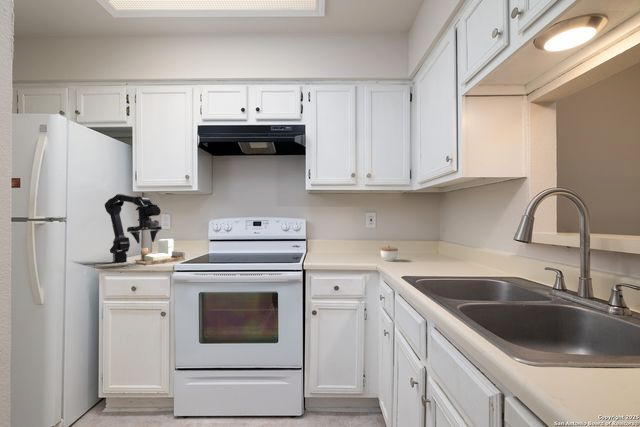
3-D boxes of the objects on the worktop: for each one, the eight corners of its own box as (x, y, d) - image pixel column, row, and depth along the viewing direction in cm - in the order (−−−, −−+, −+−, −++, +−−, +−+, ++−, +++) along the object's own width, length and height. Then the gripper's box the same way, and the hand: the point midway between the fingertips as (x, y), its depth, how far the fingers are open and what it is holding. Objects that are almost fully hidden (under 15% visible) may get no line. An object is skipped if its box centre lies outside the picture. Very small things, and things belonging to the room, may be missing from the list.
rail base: (146, 265, 180) (146, 256, 180) (135, 263, 188) (135, 255, 188) (184, 260, 199) (184, 252, 200) (173, 258, 208) (173, 251, 208)
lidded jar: (400, 261, 188) (400, 246, 189) (384, 262, 186) (384, 246, 186) (393, 259, 199) (393, 244, 199) (377, 259, 197) (377, 245, 197)
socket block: (153, 262, 185) (153, 256, 185) (144, 260, 191) (144, 255, 191) (170, 259, 193) (170, 254, 193) (162, 258, 200) (162, 253, 200)
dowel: (143, 260, 197) (143, 248, 197) (140, 260, 200) (140, 248, 200) (149, 260, 201) (149, 248, 201) (146, 259, 203) (146, 247, 203)
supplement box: (168, 258, 210) (168, 239, 210) (157, 258, 210) (157, 239, 210) (173, 256, 217) (173, 238, 217) (163, 256, 217) (163, 239, 217)
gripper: (137, 216, 174) (139, 243, 174) (166, 215, 191) (168, 240, 191) (125, 217, 179) (127, 244, 179) (154, 217, 196) (156, 241, 195)
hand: (146, 242), depth 186 cm, fingers open, 9 cm apart
